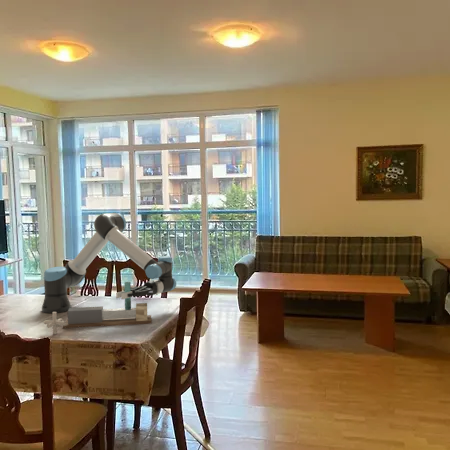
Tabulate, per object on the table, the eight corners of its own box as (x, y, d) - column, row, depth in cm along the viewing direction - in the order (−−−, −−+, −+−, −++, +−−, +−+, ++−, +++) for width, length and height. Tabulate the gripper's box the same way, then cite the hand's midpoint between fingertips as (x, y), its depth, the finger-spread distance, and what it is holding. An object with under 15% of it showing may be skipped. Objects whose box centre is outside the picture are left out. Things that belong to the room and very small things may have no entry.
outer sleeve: (70, 320, 227) (69, 307, 227) (103, 318, 230) (102, 306, 230) (68, 324, 221) (67, 311, 221) (102, 322, 224) (101, 309, 223)
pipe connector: (58, 337, 204) (58, 315, 203) (38, 336, 206) (38, 314, 205) (70, 331, 214) (70, 310, 213) (51, 329, 216) (50, 309, 215)
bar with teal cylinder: (93, 317, 228) (92, 282, 227) (142, 315, 232) (141, 280, 231) (92, 319, 224) (91, 284, 223) (142, 317, 228) (141, 282, 227)
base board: (67, 321, 230) (67, 319, 230) (151, 317, 237) (151, 314, 237) (62, 328, 218) (62, 325, 218) (151, 323, 225) (151, 321, 225)
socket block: (136, 316, 234) (136, 303, 234) (147, 315, 235) (147, 302, 235) (136, 321, 225) (135, 307, 225) (147, 320, 226) (147, 307, 226)
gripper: (164, 296, 238) (130, 305, 219) (142, 293, 248) (108, 301, 229) (164, 282, 238) (130, 290, 219) (142, 279, 247) (108, 286, 228)
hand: (119, 296), depth 224 cm, fingers closed on bar with teal cylinder, 3 cm apart
